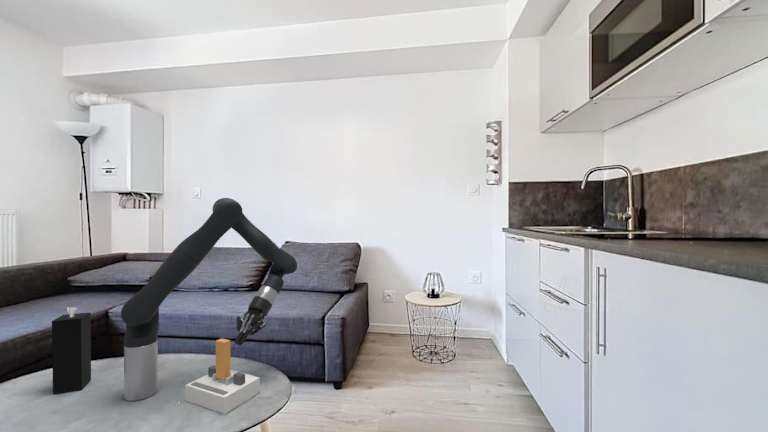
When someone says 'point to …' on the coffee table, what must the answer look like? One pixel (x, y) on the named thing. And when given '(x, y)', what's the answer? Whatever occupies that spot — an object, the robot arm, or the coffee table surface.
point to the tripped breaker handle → (223, 359)
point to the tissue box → (71, 351)
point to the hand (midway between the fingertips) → (237, 344)
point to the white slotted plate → (222, 390)
